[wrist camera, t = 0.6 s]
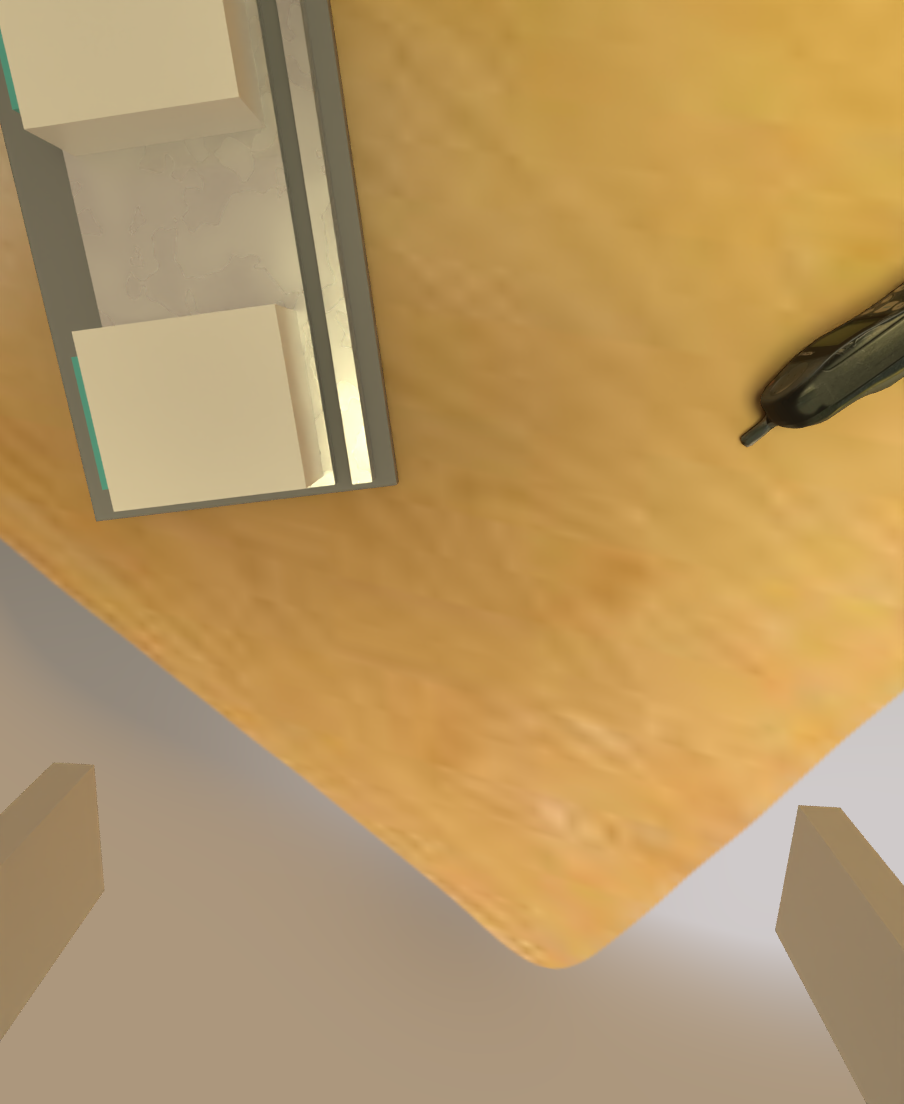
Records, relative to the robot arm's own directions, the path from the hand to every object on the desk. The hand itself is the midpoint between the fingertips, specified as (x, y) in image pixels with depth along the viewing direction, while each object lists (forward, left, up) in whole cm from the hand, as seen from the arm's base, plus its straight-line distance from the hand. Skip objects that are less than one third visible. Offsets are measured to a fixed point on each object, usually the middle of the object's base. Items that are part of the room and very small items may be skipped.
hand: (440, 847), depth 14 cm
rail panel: (-16, -11, -27) cm, 33 cm away
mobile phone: (-8, +21, -27) cm, 35 cm away
